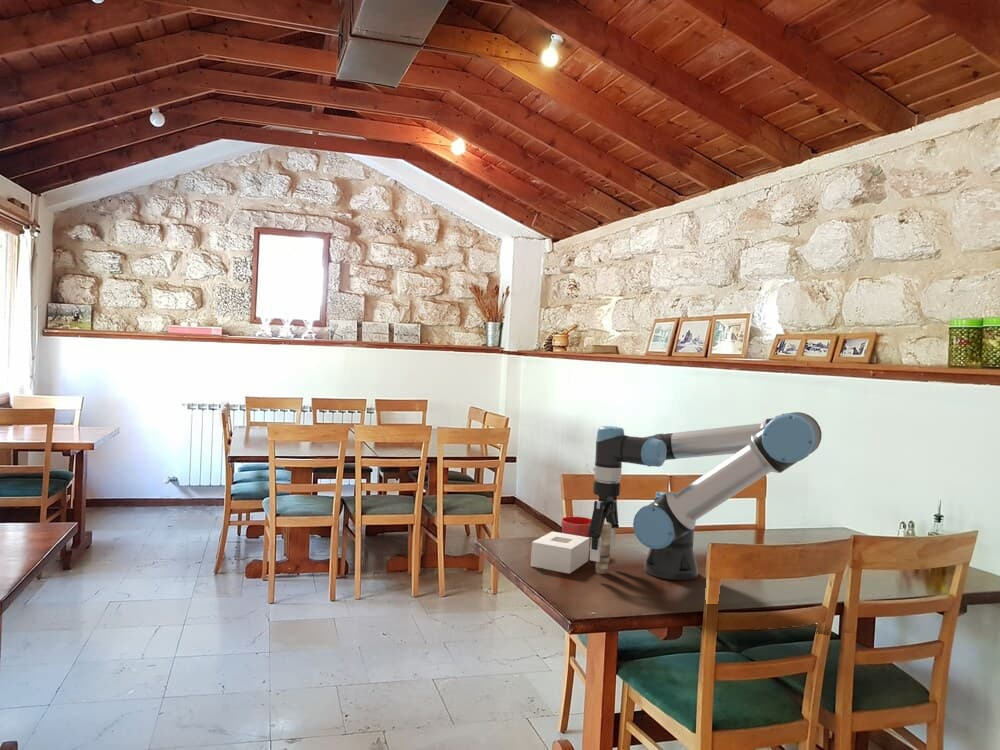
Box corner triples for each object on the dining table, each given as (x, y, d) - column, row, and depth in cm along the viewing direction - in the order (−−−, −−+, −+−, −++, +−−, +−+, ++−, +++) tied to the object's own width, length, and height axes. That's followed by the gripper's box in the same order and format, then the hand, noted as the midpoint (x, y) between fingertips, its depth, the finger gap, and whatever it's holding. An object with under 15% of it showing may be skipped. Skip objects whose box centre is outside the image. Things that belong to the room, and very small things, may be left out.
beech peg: (610, 571, 214) (613, 523, 213) (606, 575, 210) (609, 525, 210) (596, 569, 216) (599, 521, 215) (592, 572, 212) (595, 523, 212)
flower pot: (555, 552, 232) (557, 521, 231) (564, 544, 242) (565, 514, 242) (589, 557, 228) (591, 525, 228) (596, 548, 239) (598, 518, 238)
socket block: (588, 560, 224) (589, 537, 224) (569, 573, 210) (571, 548, 209) (551, 554, 229) (552, 531, 229) (530, 566, 215) (531, 542, 215)
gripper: (607, 474, 225) (603, 544, 226) (579, 485, 203) (574, 562, 203) (632, 477, 222) (627, 548, 222) (606, 488, 199) (601, 567, 200)
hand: (602, 555), depth 213 cm, fingers open, 13 cm apart
